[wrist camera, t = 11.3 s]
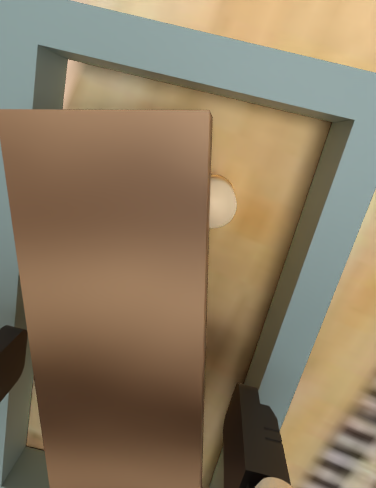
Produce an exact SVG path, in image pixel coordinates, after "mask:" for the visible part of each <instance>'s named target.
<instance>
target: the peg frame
mask: <svg viewBox="0 0 376 488" xmlns="http://www.w3.org/2000/svg"><path fill="white" fill-rule="evenodd" d="M68 59H69V60H74V61H78V62H82V63H86V64H90V65H95V66H99V67H103V68H107V69H111V70H115V71H120V72H124V73H128V74H132V75H136V76H141V77H145V78H149V79H153V80H157V81H162V82H166V83H170V84H174V85H178V86H182V87H187V88H191V89H195V90H199V91H203V92H208V93H212V94H216V95H220V96H224V97H228V98H233V99H237V100H241V101H245V102H249V103H254V104H258V105H262V106H266V107H270V108H275V109H279V110H283V111H287V112H291V113H295V114H300V115H304V116H308V117H312V118H316V119H321V120H325V121H329V122H332V124H331V127H330V130H329V133H328V136H327V139H326V142H325V145H324V148H323V151H322V154H321V157H320V160H319V163H318V166H317V169H316V172H315V175H314V178H313V181H312V184H311V187H310V189H309V192H308V195H307V198H306V201H305V204H304V207H303V210H302V213H301V216H300V219H299V222H298V225H297V228H296V231H295V234H294V237H293V240H292V243H291V246H290V249H289V252H288V255H287V258H286V261H285V264H284V267H283V270H282V272H281V275H280V278H279V281H278V284H277V287H276V290H275V293H274V296H273V299H272V302H271V305H270V308H269V311H268V314H267V317H266V320H265V323H264V326H263V329H262V332H261V335H260V338H259V341H258V344H257V347H256V350H255V353H254V355H253V358H252V361H251V364H250V367H249V370H248V373H247V376H246V379H245V382H244V385H248V386H252V387H256V388H257V389H258V393H259V400H260V404H264V405H268V406H270V408H271V409H272V411H273V413H274V414H275V416H276V417H277V420H278V425H279V430H280V429H281V426H282V423H283V421H284V418H285V416H286V413H287V411H288V408H289V406H290V403H291V401H292V398H293V396H294V393H295V391H296V388H297V386H298V383H299V381H300V378H301V376H302V373H303V370H304V368H305V365H306V363H307V360H308V358H309V355H310V353H311V350H312V348H313V345H314V343H315V340H316V338H317V335H318V333H319V330H320V328H321V325H322V323H323V320H324V317H325V315H326V312H327V310H328V307H329V305H330V302H331V300H332V297H333V295H334V292H335V290H336V287H337V285H338V282H339V280H340V277H341V275H342V272H343V270H344V267H345V264H346V262H347V259H348V257H349V254H350V252H351V249H352V247H353V244H354V242H355V239H356V237H357V234H358V232H359V229H360V227H361V224H362V222H363V219H364V217H365V214H366V211H367V209H368V206H369V204H370V201H371V199H372V196H373V194H374V191H375V189H376V73H374V72H370V71H366V70H362V69H357V68H353V67H349V66H345V65H341V64H336V63H332V62H328V61H324V60H319V59H315V58H311V57H307V56H303V55H298V54H294V53H290V52H286V51H281V50H277V49H273V48H269V47H265V46H260V45H256V44H252V43H248V42H244V41H239V40H235V39H231V38H227V37H222V36H218V35H214V34H210V33H206V32H201V31H197V30H193V29H189V28H184V27H180V26H176V25H172V24H168V23H163V22H159V21H155V20H151V19H146V18H142V17H138V16H134V15H130V14H125V13H121V12H117V11H113V10H108V9H104V8H100V7H96V6H92V5H87V4H83V3H79V2H75V1H70V0H0V109H58V110H62V108H63V98H64V89H65V80H66V71H67V61H68ZM236 208H237V202H236V197H235V193H234V189H233V187H232V185H231V183H230V182H229V181H228V180H227V179H226V178H224V177H222V176H219V175H211V184H210V218H209V228H218V227H222V226H224V225H226V224H227V223H228V222H229V221H230V220H231V219H232V218H233V216H234V214H235V212H236ZM5 325H9V326H13V327H17V328H21V329H25V330H27V325H26V318H25V311H24V304H23V297H22V290H21V283H20V276H19V269H18V262H17V255H16V248H15V241H14V234H13V227H12V220H11V213H10V206H9V199H8V192H7V185H6V178H5V171H4V164H3V157H2V149H1V142H0V329H1V328H2V327H3V326H5ZM33 376H34V374H33V367H32V360H31V353H30V346H29V339H28V337H27V347H26V357H25V366H24V369H23V372H22V374H21V376H20V378H19V380H18V381H17V383H16V384H15V385H14V386H13V387H12V389H11V390H10V391H9V392H8V394H7V395H6V396H5V397H4V399H3V400H2V401H1V402H0V488H50V487H49V479H48V472H47V465H46V458H45V451H42V450H39V449H35V448H31V447H27V446H26V440H27V431H28V422H29V413H30V404H31V394H32V385H33ZM209 488H224V461H223V447H222V450H221V453H220V456H219V459H218V462H217V465H216V468H215V471H214V474H213V477H212V480H211V483H210V486H209Z"/></svg>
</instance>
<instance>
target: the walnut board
mask: <svg viewBox="0 0 376 488" xmlns="http://www.w3.org/2000/svg"><path fill="white" fill-rule="evenodd" d="M0 142H1V149H2V157H3V164H4V171H5V178H6V185H7V192H8V199H9V206H10V213H11V220H12V227H13V234H14V241H15V248H16V255H17V262H18V269H19V276H20V283H21V290H22V297H23V304H24V311H25V318H26V325H27V332H28V339H29V346H30V353H31V360H32V367H33V374H34V381H35V388H36V395H37V402H38V409H39V416H40V423H41V430H42V437H43V444H44V451H45V458H46V465H47V472H48V479H49V487H50V488H202V459H203V425H204V390H205V356H206V322H207V287H208V253H209V218H210V184H211V149H212V115H211V113H210V110H58V109H0Z"/></svg>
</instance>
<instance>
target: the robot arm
mask: <svg viewBox="0 0 376 488" xmlns="http://www.w3.org/2000/svg"><path fill="white" fill-rule="evenodd" d="M27 337H28V332H27V330H25V329H21V328H17V327H13V326H9V325H5V326H3V327H2V328H1V329H0V402H1V401H2V400H3V399H4V397H5V396H6V395H7V394H8V392H9V391H10V390H11V389H12V387H13V386H14V385H15V384H16V383H17V381H18V380H19V378H20V376H21V374H22V372H23V369H24V366H25V357H26V347H27ZM279 432H280V430H279V425H278V420H277V417H276V416H275V414H274V413H273V411H272V409H271V408H270V406H268V405H264V404H260V400H259V393H258V389H257V388H256V387H252V386H248V385H244V384H240V383H237V384H236V386H235V389H234V392H233V395H232V398H231V401H230V404H229V407H228V410H227V413H226V417H225V421H224V428H223V461H224V488H293V487H292V486H291V484H290V479H289V474H288V469H287V464H286V459H285V454H284V450H283V445H282V440H281V435H280V433H279Z"/></svg>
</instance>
